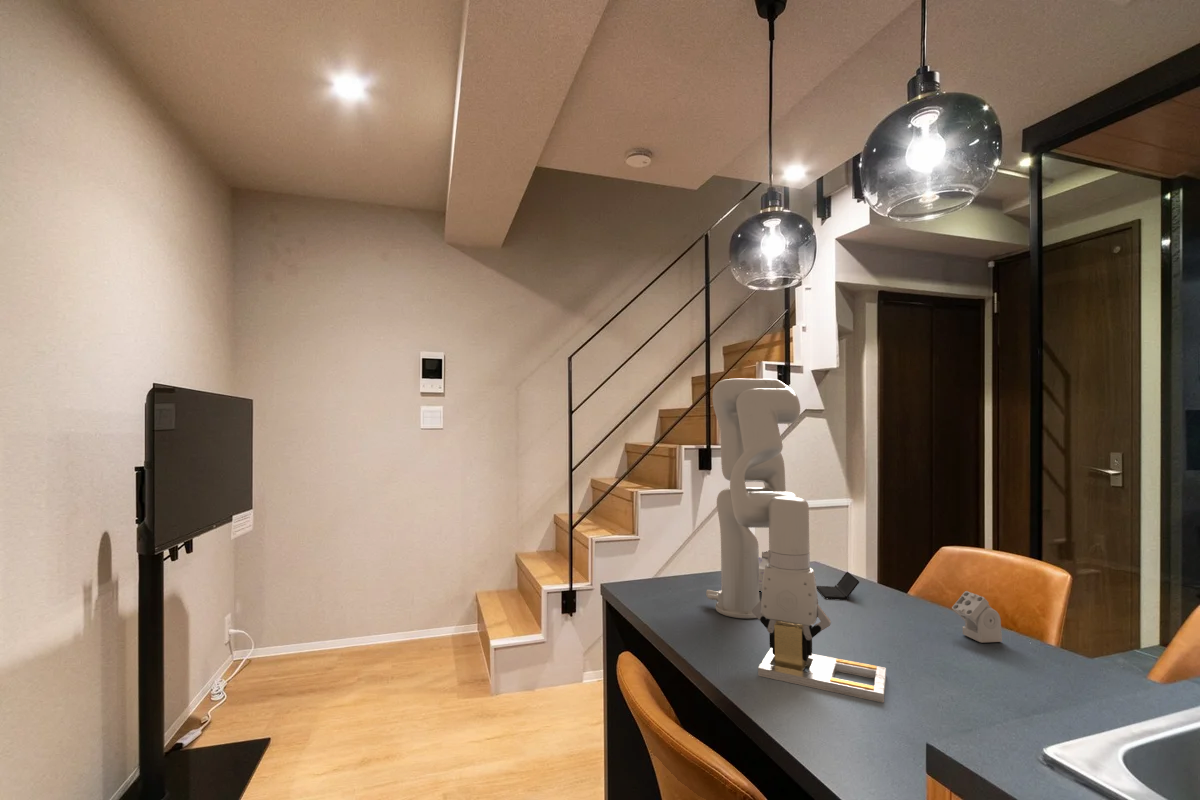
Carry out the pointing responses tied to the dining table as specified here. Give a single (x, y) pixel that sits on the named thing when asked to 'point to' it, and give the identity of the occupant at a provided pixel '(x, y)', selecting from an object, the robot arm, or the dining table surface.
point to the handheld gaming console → (840, 588)
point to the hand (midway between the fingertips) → (790, 654)
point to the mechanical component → (978, 618)
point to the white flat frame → (829, 676)
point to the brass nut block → (789, 645)
